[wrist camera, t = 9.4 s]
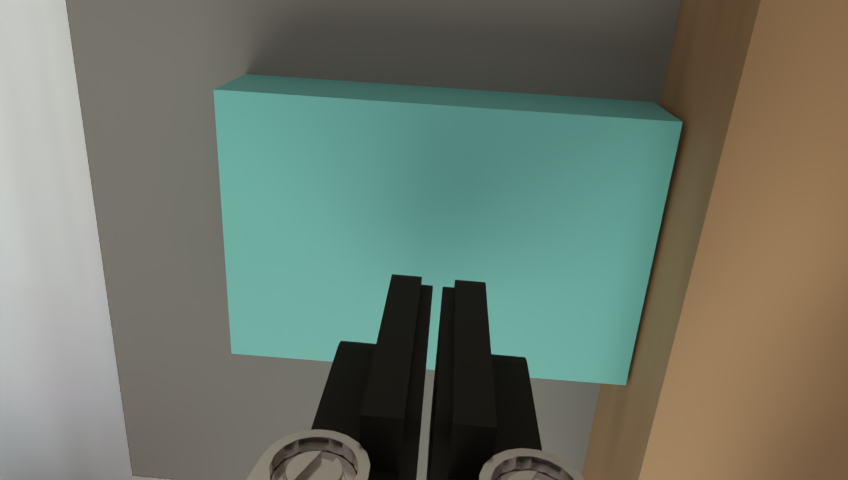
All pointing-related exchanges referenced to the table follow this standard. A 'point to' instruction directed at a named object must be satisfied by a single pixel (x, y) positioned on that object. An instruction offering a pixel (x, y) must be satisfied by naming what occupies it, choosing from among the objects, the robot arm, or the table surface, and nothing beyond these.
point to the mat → (201, 199)
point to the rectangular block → (440, 215)
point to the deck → (744, 259)
